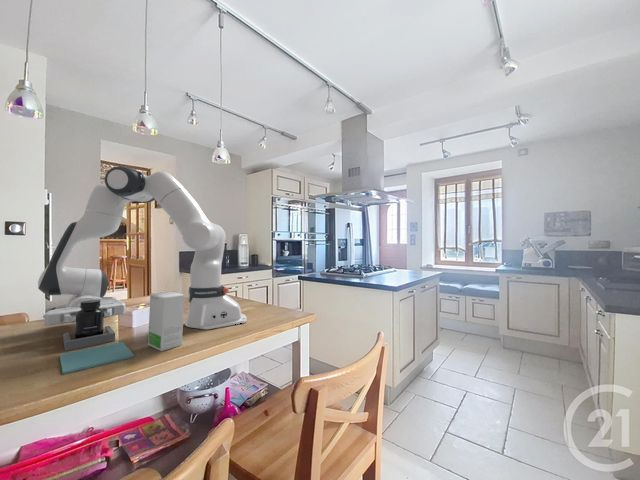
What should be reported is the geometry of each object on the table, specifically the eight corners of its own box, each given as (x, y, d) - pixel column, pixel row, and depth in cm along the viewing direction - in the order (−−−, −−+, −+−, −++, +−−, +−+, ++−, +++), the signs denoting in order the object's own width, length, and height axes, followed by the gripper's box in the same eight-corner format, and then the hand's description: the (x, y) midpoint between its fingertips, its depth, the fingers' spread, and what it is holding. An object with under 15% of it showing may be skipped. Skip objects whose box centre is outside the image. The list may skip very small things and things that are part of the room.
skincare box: (147, 345, 82) (148, 293, 82) (169, 339, 88) (170, 290, 88) (161, 352, 78) (162, 296, 78) (184, 344, 83) (185, 293, 83)
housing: (63, 341, 85) (63, 333, 85) (109, 333, 93) (109, 325, 93) (65, 350, 78) (65, 342, 78) (114, 340, 86) (115, 332, 86)
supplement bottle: (87, 344, 82) (87, 304, 82) (69, 342, 83) (69, 303, 83) (109, 336, 89) (109, 299, 89) (92, 335, 90) (92, 298, 90)
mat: (59, 356, 74) (59, 354, 74) (122, 343, 84) (122, 341, 84) (62, 374, 64) (62, 371, 64) (133, 357, 74) (133, 354, 74)
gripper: (42, 305, 88) (43, 313, 78) (120, 296, 102) (129, 302, 93) (42, 325, 88) (42, 335, 78) (120, 313, 102) (129, 320, 92)
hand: (90, 317), depth 85 cm, fingers closed on supplement bottle, 7 cm apart
